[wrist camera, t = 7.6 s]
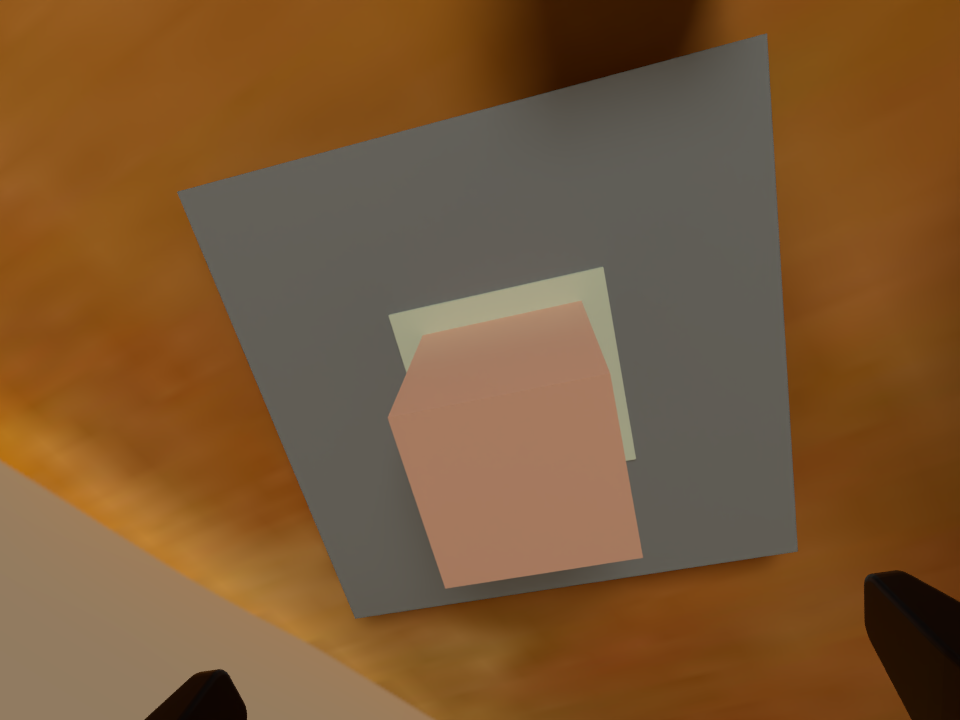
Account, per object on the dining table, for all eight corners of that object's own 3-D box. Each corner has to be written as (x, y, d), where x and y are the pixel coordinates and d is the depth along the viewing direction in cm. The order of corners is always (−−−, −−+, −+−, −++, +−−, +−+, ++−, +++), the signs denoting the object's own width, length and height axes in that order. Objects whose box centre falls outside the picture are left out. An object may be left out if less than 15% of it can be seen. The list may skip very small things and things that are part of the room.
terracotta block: (581, 300, 16) (609, 373, 11) (608, 442, 17) (643, 557, 13) (422, 335, 16) (387, 417, 12) (462, 469, 18) (445, 588, 13)
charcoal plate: (743, 42, 15) (768, 32, 13) (778, 521, 20) (799, 553, 19) (204, 186, 17) (175, 192, 15) (365, 587, 22) (354, 620, 21)
